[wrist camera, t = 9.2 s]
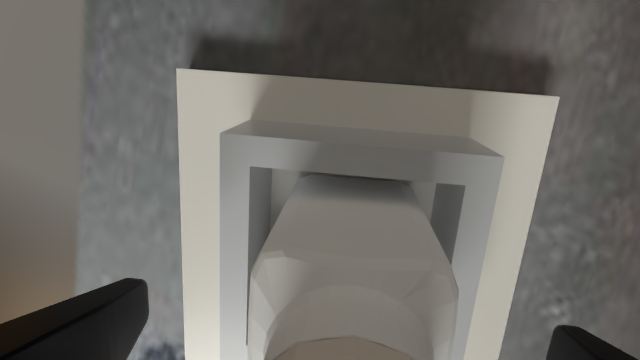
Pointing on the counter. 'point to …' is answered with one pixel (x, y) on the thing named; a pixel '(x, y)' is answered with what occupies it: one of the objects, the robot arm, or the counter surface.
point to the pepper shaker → (352, 277)
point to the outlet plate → (353, 162)
